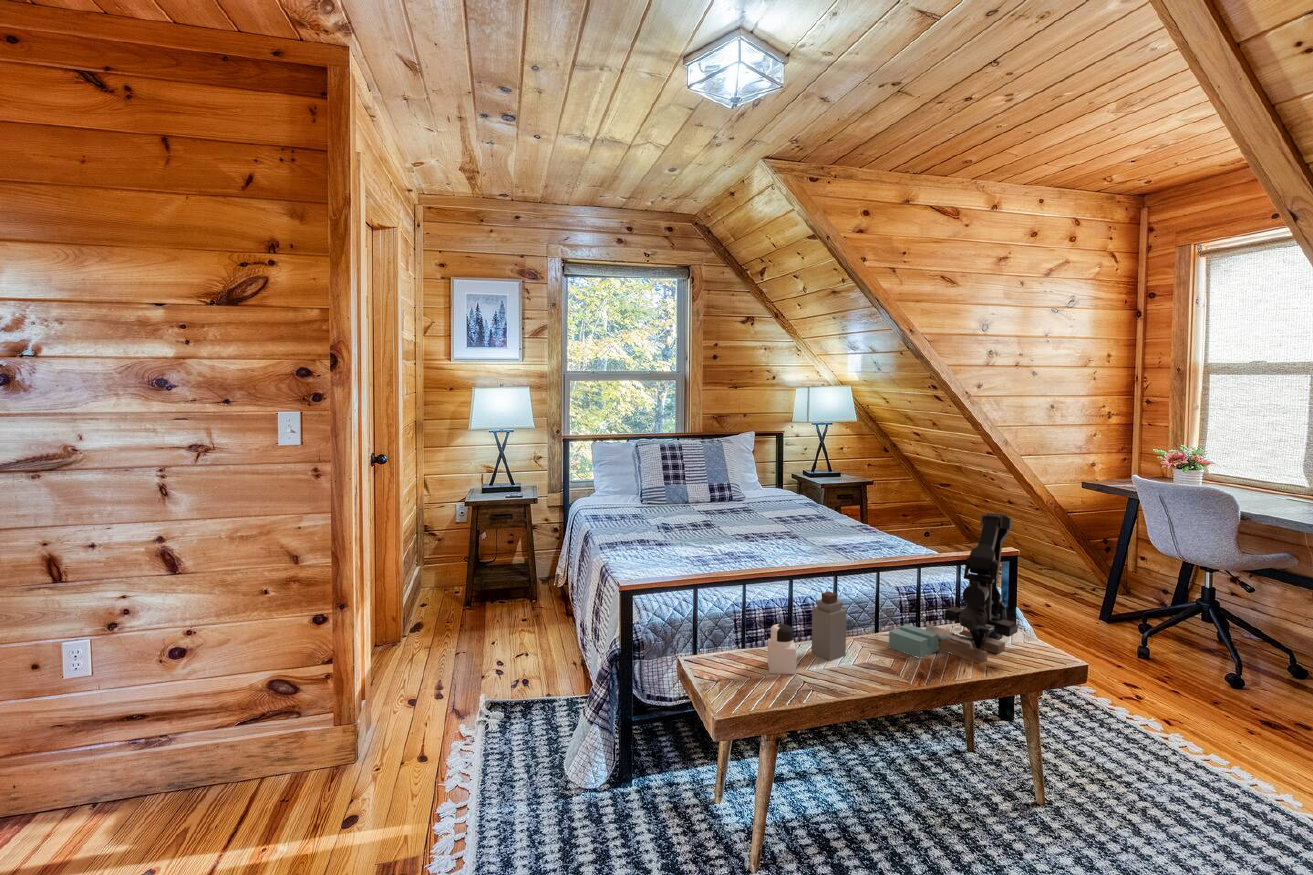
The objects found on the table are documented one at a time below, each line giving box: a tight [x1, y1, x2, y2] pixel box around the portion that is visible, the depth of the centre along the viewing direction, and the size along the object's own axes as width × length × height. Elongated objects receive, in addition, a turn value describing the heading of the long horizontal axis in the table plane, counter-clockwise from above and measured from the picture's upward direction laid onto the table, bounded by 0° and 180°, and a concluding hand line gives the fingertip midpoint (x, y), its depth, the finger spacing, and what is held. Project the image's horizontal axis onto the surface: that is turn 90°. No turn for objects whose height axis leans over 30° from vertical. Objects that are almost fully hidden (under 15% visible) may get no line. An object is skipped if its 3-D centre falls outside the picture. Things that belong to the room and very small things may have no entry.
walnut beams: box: [938, 629, 1006, 665], centre depth 187 cm, size 15×12×2 cm
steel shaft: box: [924, 624, 976, 648], centre depth 192 cm, size 14×4×4 cm, turn 37°
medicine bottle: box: [767, 623, 797, 675], centre depth 174 cm, size 7×7×12 cm
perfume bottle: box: [811, 591, 847, 662], centre depth 183 cm, size 7×7×18 cm
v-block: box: [888, 623, 939, 659], centre depth 187 cm, size 10×10×5 cm
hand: (978, 649), depth 185 cm, fingers closed
